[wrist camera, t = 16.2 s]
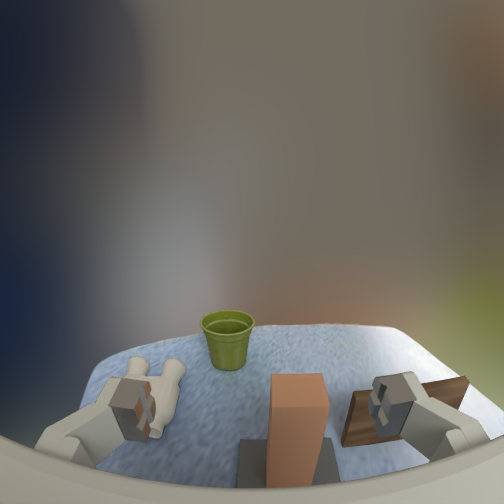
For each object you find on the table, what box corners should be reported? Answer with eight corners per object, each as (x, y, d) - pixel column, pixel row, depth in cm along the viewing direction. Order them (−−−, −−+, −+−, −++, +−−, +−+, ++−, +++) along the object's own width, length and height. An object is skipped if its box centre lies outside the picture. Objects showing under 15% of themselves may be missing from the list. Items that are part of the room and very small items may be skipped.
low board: (448, 428, 34) (469, 382, 32) (342, 447, 35) (356, 399, 33) (444, 422, 36) (464, 375, 34) (341, 439, 36) (353, 391, 34)
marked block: (310, 488, 28) (330, 406, 24) (266, 489, 28) (272, 407, 25) (306, 456, 33) (321, 371, 30) (266, 457, 33) (271, 372, 30)
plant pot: (224, 384, 50) (223, 340, 47) (193, 360, 56) (189, 319, 54) (264, 363, 56) (266, 322, 54) (231, 344, 62) (230, 305, 60)
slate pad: (344, 511, 25) (345, 508, 24) (234, 515, 25) (233, 512, 25) (330, 441, 36) (331, 437, 36) (240, 442, 37) (240, 439, 36)
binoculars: (187, 378, 51) (185, 356, 50) (172, 445, 36) (167, 422, 35) (130, 374, 51) (126, 352, 50) (102, 435, 35) (93, 412, 34)
